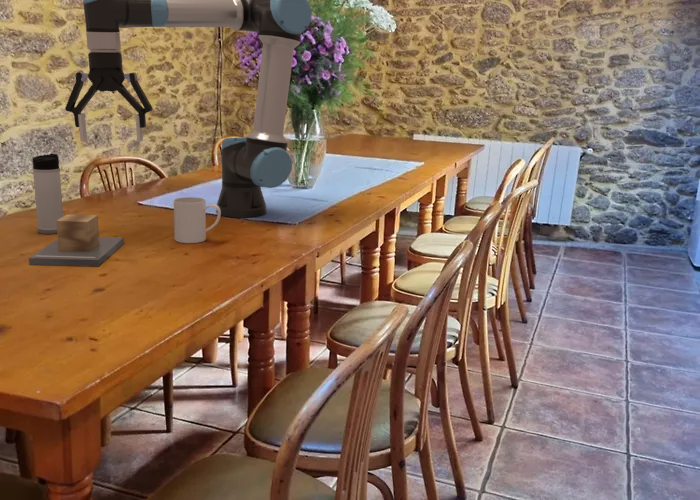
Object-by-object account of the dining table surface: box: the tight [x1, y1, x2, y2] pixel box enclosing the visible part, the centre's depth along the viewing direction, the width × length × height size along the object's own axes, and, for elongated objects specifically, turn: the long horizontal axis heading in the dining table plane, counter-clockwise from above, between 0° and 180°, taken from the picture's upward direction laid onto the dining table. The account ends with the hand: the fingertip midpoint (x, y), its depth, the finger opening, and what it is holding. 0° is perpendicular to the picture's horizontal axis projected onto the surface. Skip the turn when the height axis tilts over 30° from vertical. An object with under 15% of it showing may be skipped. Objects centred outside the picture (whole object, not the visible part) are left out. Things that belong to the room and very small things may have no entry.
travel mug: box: [32, 153, 64, 235], centre depth 177 cm, size 6×7×20 cm
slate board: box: [28, 236, 125, 267], centre depth 160 cm, size 15×20×2 cm
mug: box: [173, 196, 222, 244], centre depth 175 cm, size 12×8×10 cm, turn 79°
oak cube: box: [56, 213, 100, 251], centre depth 159 cm, size 7×7×7 cm
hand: (112, 141), depth 169 cm, fingers open, 13 cm apart
